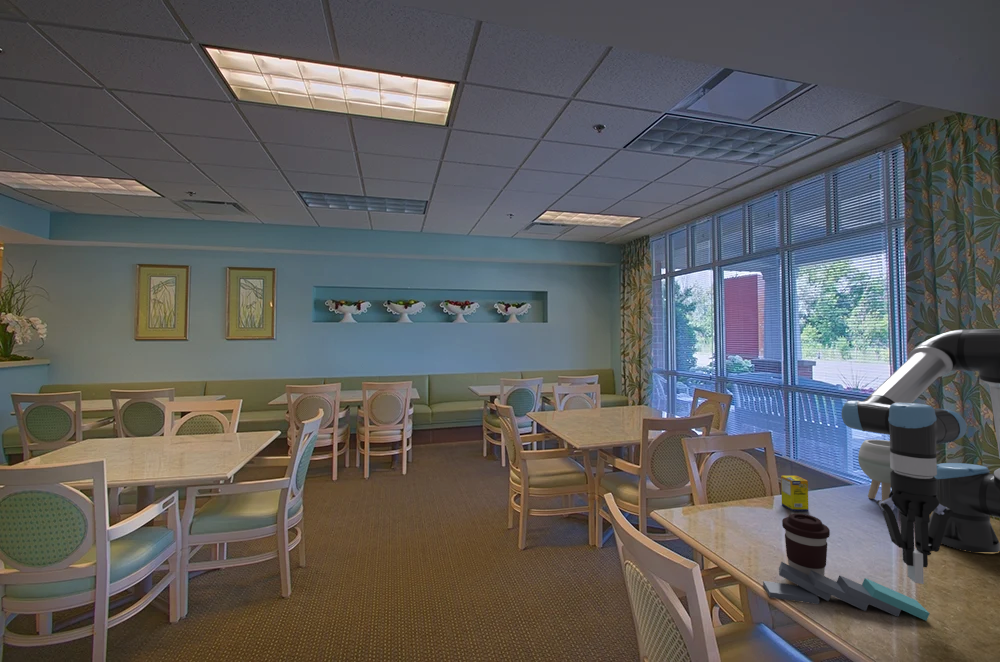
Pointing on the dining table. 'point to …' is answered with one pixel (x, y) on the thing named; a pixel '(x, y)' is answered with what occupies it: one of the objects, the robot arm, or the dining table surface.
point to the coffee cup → (806, 543)
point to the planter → (876, 466)
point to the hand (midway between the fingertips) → (915, 580)
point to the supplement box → (794, 493)
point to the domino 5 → (895, 599)
